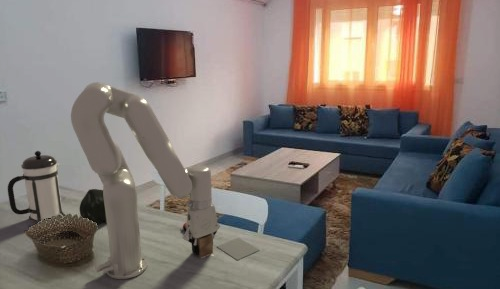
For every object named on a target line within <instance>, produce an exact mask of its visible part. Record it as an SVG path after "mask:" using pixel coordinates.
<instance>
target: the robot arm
mask: <svg viewBox="0 0 500 289" xmlns="http://www.w3.org/2000/svg"><path fill="white" fill-rule="evenodd" d="M105 114H110V115H112V116H115V117H119V118H122V119H124V121H125V122H126V124H127V125H128V128H129V129H130V131H131V132H132V134H133V136H134V138H136V141H137V142H138V144H139V146H140V147H141V149H142V151H143V152H144V154H145V156H146V157H147V158H148V160H149V161H150V163H151V164H152V166H153V167H154V169H155V170H156V172H157V174H158V176H159V177H160V178H161V181H162V182H163V183H164V186H165V187H166V189H167V191H168V192H169V194H170V195H171V196H172V197H173V198H176V199H184V198H187V197H188V202H187V203H186V205H185V206H186V207H187V208H188V209H187V212H186V213H187V214H186V222H187V230H186V231H184V232H185V233H184V234H183V236H182V240H184V241H186V242H187V243H188V242H189V243H190V244H191V252H192V253H193V254H194V255H195V256H197V257H199V256H198V255H199V245H198V244H197V242H198V238H200V237H203V236H206V235H208V234H212V244H213V245H214V238H215V236H216V235H217V232H218V230H219V229H220V227H221V224H219V223H218V217H217V210H216V206H215V204H214V203H213V201H212V199H213V196H212V195H213V194H212V172H211V169H210V168H209V167H207V166H204V165H198V166H193V167H184V165H183V164H182V162H181V159H180V158H179V157H178V154H177V153H176V151H175V149H174V147H173V144H172V143H171V141H170V139H169V137H168V135H167V134H166V132H165V130H164V128H163V126H162V124H161V122H160V121H159V118H158V117H157V116H156V113H155V112H154V110H153V108H152V107H151V104H150V103H149V102H148V101H147V100H146V99H145V98H144V97H142V96H140V95H138V94H134V93H132V92H128V91H125V90H123V89H120V88H117V87H114V86H111V85H108V84H105V83H103V82H98V81H97V82H92V83H91V82H90V84H88V85H86V86H85V87H84V89H83V90H82V91H81V93H80V94H79V95H78V96H77V98H76V99H75V101H74V103H73V104H72V107H71V112H70V119H71V120H70V121H71V122H70V123H71V125H72V128H73V131H74V133H75V135H76V137H77V140H78V142H79V144H80V147H81V148H82V151H83V152H84V155H85V157H86V159H87V161H88V164H89V166H90V169H91V170H92V171H93V172H94V173H95V174H97V176H98V178H99V179H100V181H101V184H102V185H103V186H102V190H103V197H104V205H105V212H106V222H105V223H106V227H107V228H106V229H107V236H108V245H109V255H110V256H109V257H107V261H105V262H104V263H102V264H98V265H96V266H95V267H94V268H95V272H96V273H99V272H102V274H107V276H109V277H110V278H112V279H114V280H115V279H116V280H126V279H132V278H134V277H136V276H139V275H141V274H143V273H144V271H145V270H146V269H148V260H147V259H146V258H145V257H144V256H143V255H142V254H143V253H142V246H141V233H140V221H139V209H138V206H139V205H138V192H137V191H138V190H137V187H136V183H135V180H134V178H133V174H132V172H131V170H130V168H129V166H128V164H127V161H126V160H125V157H124V155H123V152H122V150H121V148H120V147H119V144H117V143H116V142H115V141H114V140H113V139H112V136H111V135H110V131H109V129H108V128H107V125H106V122H105Z"/></svg>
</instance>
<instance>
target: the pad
mask: <svg viewBox="0 0 500 289" xmlns="http://www.w3.org/2000/svg"><path fill="white" fill-rule="evenodd" d="M216 248H218V249H219V250H220V251H223V252H224V253H225V254H227V255H228V256H230V257H231V258H233V259H234V260H236V261H239V260H242V259H244V258H247V257H248V256H251V255H253V254H256V253H257V252H259V251H260V249H258V248H257V247H255V246H253V244H250V243H249V242H247V241H245V240H243V239H241V238H240V237H237V238H234V239H231V240H230V241H227V242H224V243H221V244H219V245H217V246H216Z"/></svg>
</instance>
